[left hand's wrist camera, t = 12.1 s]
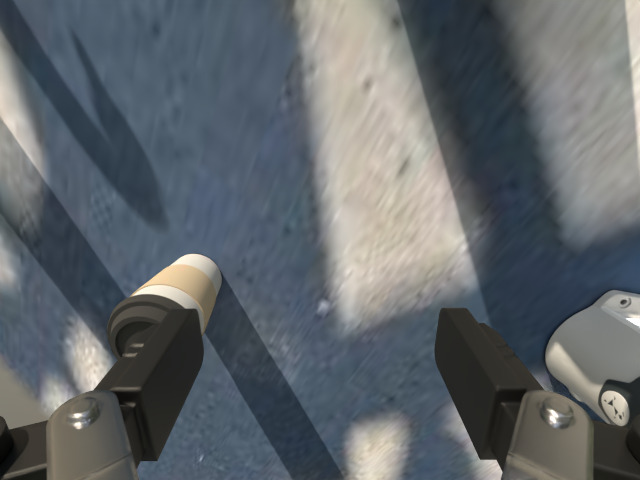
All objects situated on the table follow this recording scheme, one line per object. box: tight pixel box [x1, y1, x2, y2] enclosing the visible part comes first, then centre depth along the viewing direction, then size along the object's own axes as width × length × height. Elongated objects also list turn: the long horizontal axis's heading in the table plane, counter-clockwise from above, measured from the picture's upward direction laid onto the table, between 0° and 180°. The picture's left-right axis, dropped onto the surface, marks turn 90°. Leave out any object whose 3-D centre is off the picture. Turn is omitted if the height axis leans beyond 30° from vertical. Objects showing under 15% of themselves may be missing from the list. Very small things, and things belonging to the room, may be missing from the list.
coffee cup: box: [107, 254, 222, 360], centre depth 39 cm, size 9×9×15 cm
